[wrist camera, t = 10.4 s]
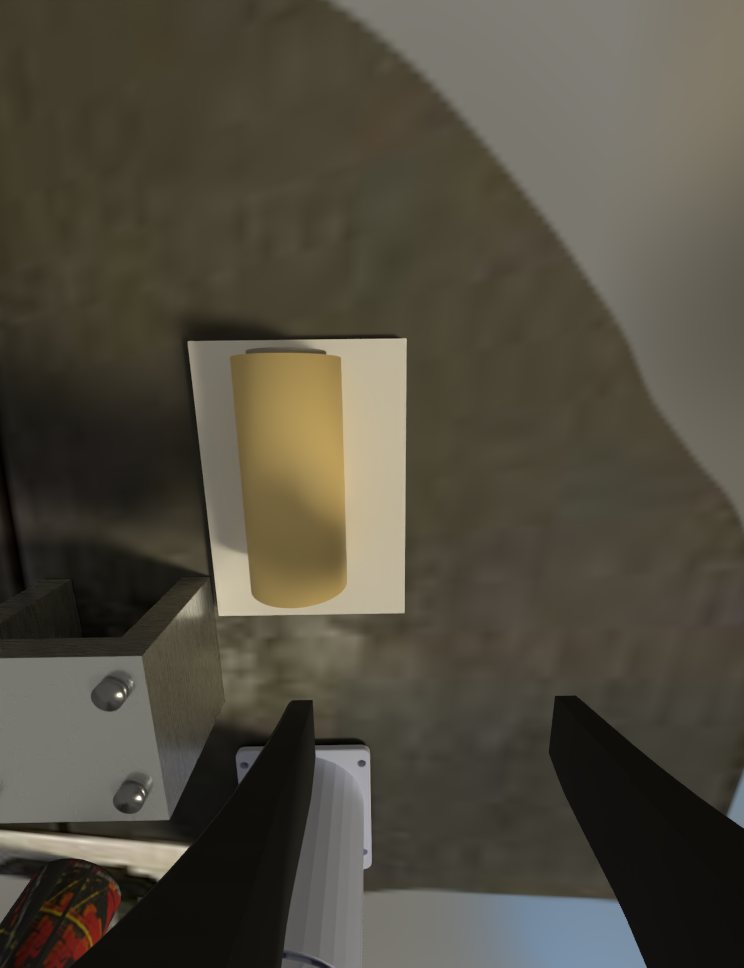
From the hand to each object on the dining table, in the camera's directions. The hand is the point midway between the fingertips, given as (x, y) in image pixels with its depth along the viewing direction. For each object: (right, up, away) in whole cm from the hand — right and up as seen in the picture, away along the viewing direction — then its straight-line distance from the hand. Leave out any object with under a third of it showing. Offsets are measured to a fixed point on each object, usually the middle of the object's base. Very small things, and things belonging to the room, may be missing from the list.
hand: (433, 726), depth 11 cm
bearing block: (-15, -2, +10) cm, 18 cm away
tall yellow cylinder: (-5, +8, +8) cm, 12 cm away
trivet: (-5, +7, +8) cm, 12 cm away
